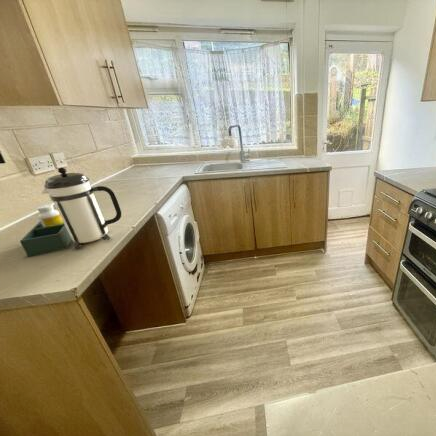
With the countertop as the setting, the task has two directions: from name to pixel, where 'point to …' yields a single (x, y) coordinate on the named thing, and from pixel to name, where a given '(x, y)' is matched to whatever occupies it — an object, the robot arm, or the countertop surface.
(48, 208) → the supplement bottle
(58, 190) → the coffee press
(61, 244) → the box
